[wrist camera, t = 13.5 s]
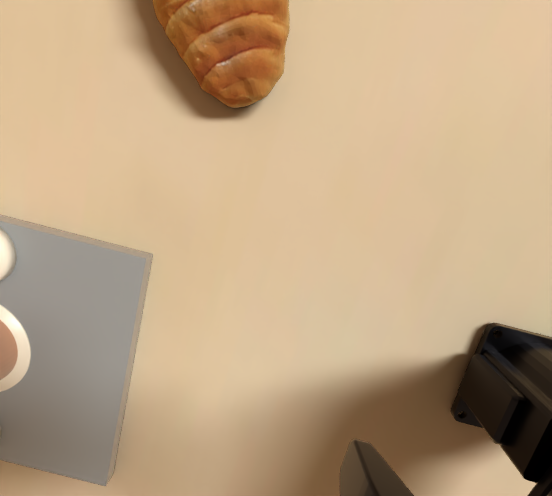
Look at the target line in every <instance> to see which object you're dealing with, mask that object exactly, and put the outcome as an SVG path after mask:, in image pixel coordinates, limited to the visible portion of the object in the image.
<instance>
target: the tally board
mask: <svg viewBox="0 0 552 496" xmlns="http://www.w3.org/2000/svg"><path fill="white" fill-rule="evenodd" d="M152 257H153V254H150V253H146V252H142V251H138V250H135V249H131V248H127V247H123V246H119V245H115V244H111V243H107V242H104V241H100V240H96V239H92V238H88V237H84V236H80V235H77V234H73V233H69V232H65V231H61V230H57V229H53V228H49V227H46V226H42V225H38V224H34V223H30V222H26V221H22V220H19V219H15V218H11V217H7V216H3V215H0V320H1V321H2V322H3V323H4V324H5V325H6V326H7V327H8V328H9V330H10V331H11V332H12V334H13V336H14V338H15V341H16V344H17V349H18V357H17V362H16V365H15V367H14V369H13V370H12V371H11V372H10V373H9V374H8V375H7V376H6V377H4V378H3V379H2V380H0V460H2V461H6V462H10V463H14V464H18V465H22V466H26V467H30V468H34V469H38V470H42V471H46V472H50V473H54V474H58V475H62V476H66V477H70V478H74V479H78V480H82V481H86V482H90V483H94V484H98V485H102V486H106V485H107V484H108V482H109V480H110V478H111V477H112V475H113V473H114V467H115V461H116V456H117V450H118V445H119V439H120V434H121V428H122V423H123V417H124V412H125V406H126V401H127V395H128V390H129V384H130V379H131V373H132V368H133V362H134V356H135V351H136V345H137V340H138V334H139V329H140V323H141V318H142V312H143V307H144V301H145V296H146V290H147V285H148V279H149V274H150V268H151V263H152Z"/></svg>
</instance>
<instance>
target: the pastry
mask: <svg viewBox="0 0 552 496" xmlns="http://www.w3.org/2000/svg"><path fill="white" fill-rule="evenodd" d="M152 1H153V6H154V10H155V13H156V17H157V19H158V21H159V22H160V24H161V25H162V26H163V28H164V31H165V33H166V35H167V36H168V38H169V39H170V41H171V42H172V44H173V45H174V46H175V47H176V49H177V51H178V53H179V55H180V57H181V58H182V59H183V60H184V62H185V63H186V64H187V66H188V68H189V69H190V71H191V72H192V73H193V75H194V76H195V78H196V80H197V81H198V83H199V85H200V87H201V88H202V89H203V90H204V91H205V92H207V93H209V94H211V95H212V96H214V97H216V98H217V99H218V100H219V101H221V102H222V103H224V104H225V105H227V106H229V107H232V108H237V107H244V106H248V105H251V104H253V103H255V102H256V101H258V100H261V99H263V98H264V97H266V96H267V95H268V94H269V93H270V91H271V90H272V88H273V87H274V85H275V84H276V83H277V81H278V80H279V79H280V77H281V76H282V74H283V72H284V60H285V45H286V41H287V37H288V34H289V21H290V19H289V8H288V7H289V0H152Z"/></svg>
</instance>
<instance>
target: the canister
mask: <svg viewBox="0 0 552 496" xmlns="http://www.w3.org/2000/svg"><path fill="white" fill-rule="evenodd" d="M17 357H18V349H17V344H16V341H15V338H14V336H13V334H12V332H11V331H10V330H9V328H8V327H7V326H6V325H5V324H4V323H3V322H2V321H1V320H0V380H2V379H3V378H4V377H6V376H7V375H8V374H9V373H10V372H11V371H12V370H13V369H14V367H15V365H16V362H17Z"/></svg>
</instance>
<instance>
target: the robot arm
mask: <svg viewBox="0 0 552 496" xmlns="http://www.w3.org/2000/svg"><path fill="white" fill-rule="evenodd" d="M496 330H498V333H497V334H495V335H493V333H494V331H496ZM461 411H463V413H461V414H458V413H459V412H461ZM451 413H452V415H453V417H454V418H455V419H456V421H459V422H462V423H466V424H470V425H474V426H478V427H481V428H484V429H485V431H486V432H487V433H488V435H489V436H490V438H491V439H492V440H493V442H494V443H496V444H499V445H500V446H501V448H502V449H503V450H504V452H505V453H506V455H507V456H508V457H509V459H510V460H511V461H512V463H513V464H514V465H515V467H516V468H517V469H518V471H519V472H520V474H521V475H522V476H523V478H524V479H526V480H528V481H532V482H535V483H536V485H535V487H534V488H533V489H532V490H531V492H530V493H529V494H528V496H552V337H549V336H545V335H541V334H537V333H533V332H529V331H526V330H522V329H518V328H514V327H510V326H506V325H502V324H499V323H492V324H489V325H488V326H487V327H486V329H485V331H484V334H483V336H482V338H481V341H480V343H479V345H478V348H477V350H476V352H475V355H473V356H472V358H471V361H470V363H469V365H468V368H467V370H466V372H465V375H464V377H463V380H462V382H461V384H460V387H459V389H458V394H457V397H456V399H455V401H454V404H453V406H452V408H451ZM340 496H414V495H413V494H412V493H411V492H410V490H409V489H408V488H407V487H406V486H405V484H404V483H403V482H402V481H401V480H400V478H399V477H398V476H397V475H396V473H395V472H394V471H393V470H392V469H391V467H390V466H389V465H388V464H387V462H386V461H385V460H384V459H383V458H382V456H381V455H380V454H379V453H378V452H377V450H376V449H375V448H374V447H373V445H372V444H371V443H369V442H366V441H362V440H358V439H353V440H351V442H350V444H349V446H348V449H347V452H346V455H345V457H344V460H343V463H342V466H341V470H340Z"/></svg>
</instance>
